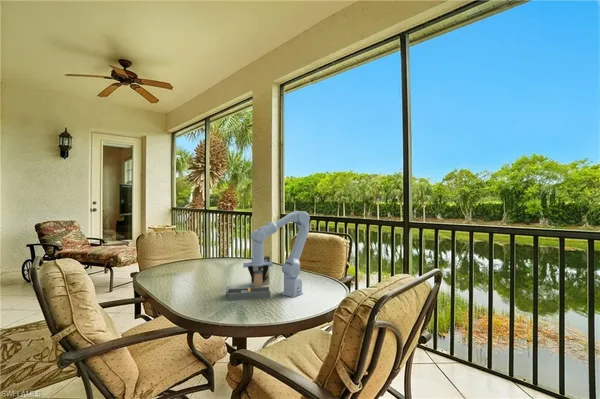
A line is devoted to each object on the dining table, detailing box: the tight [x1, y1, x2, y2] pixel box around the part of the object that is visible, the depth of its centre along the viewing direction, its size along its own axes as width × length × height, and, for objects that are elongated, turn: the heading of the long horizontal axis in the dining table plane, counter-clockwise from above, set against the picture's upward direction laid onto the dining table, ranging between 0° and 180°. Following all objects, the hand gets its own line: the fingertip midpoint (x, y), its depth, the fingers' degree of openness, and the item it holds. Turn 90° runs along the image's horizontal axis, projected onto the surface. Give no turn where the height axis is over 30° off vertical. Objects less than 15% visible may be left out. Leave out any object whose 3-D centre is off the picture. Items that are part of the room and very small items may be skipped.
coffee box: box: [250, 255, 271, 287], centre depth 173 cm, size 9×6×16 cm
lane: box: [225, 286, 273, 301], centre depth 153 cm, size 23×9×4 cm, turn 101°
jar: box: [252, 270, 264, 287], centre depth 148 cm, size 5×5×7 cm
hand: (258, 281), depth 149 cm, fingers closed on jar, 5 cm apart
